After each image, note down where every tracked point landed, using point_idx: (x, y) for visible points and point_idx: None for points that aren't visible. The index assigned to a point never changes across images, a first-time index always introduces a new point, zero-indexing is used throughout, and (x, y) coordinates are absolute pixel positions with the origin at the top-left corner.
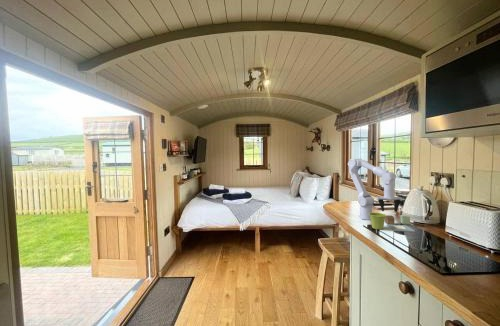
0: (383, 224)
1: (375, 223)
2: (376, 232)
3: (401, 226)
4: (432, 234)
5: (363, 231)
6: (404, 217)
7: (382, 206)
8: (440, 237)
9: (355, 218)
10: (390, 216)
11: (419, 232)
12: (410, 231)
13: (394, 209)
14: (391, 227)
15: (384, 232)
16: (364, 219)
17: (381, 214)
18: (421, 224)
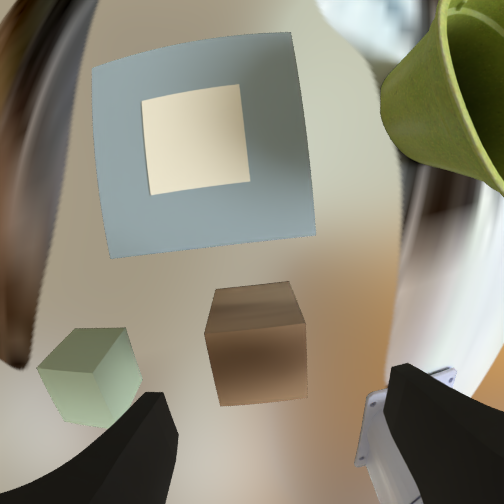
0: (403, 59)
1: (474, 60)
2: (433, 9)
3: (166, 184)
4: (14, 69)
5: None
6: (85, 365)
7: (478, 407)
8: (10, 29)
9: (474, 382)
10: (253, 357)
11: (68, 74)
12: (131, 59)
13: (174, 454)
14: (294, 117)
15: (380, 2)
16: (441, 372)
17: (478, 153)
18: (15, 335)
